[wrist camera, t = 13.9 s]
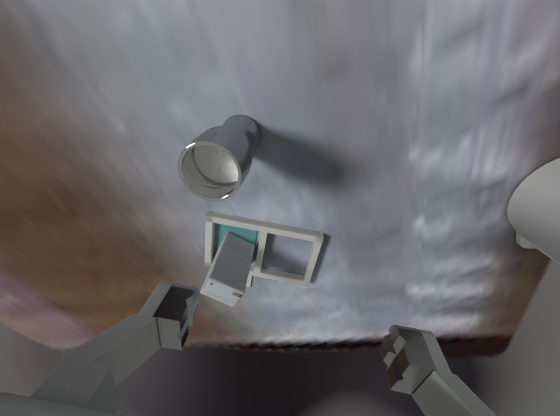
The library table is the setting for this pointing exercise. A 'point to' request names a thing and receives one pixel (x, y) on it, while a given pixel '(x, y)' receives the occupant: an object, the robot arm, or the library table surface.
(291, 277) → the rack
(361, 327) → the library table surface
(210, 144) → the beer glass
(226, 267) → the skincare box
